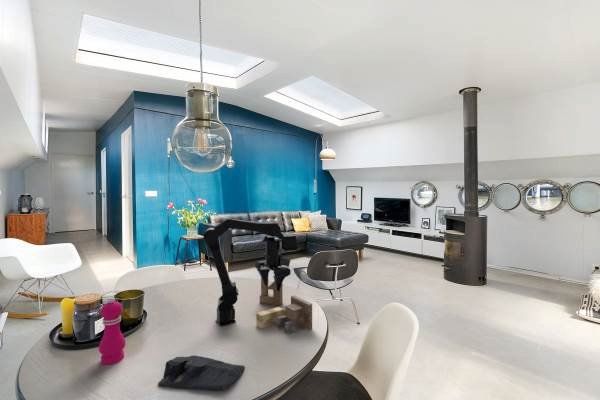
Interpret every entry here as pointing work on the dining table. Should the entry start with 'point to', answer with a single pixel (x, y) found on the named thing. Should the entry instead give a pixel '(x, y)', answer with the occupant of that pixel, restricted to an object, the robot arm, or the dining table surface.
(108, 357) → the pepper mill
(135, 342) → the dining table surface
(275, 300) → the wooden block
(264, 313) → the tan oblong piece
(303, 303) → the brown boxy piece
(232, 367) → the dark slate chunk
